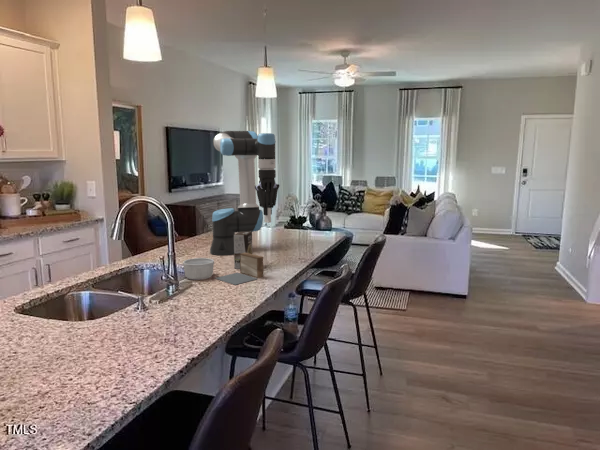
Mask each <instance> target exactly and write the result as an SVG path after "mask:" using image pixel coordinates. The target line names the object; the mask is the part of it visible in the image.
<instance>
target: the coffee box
mask: <svg viewBox="0 0 600 450" xmlns="http://www.w3.org/2000/svg"><path fill="white" fill-rule="evenodd" d="M241 253H249V254H253V232H236V233H235V234H234V254H233V258H234V259H233V260H234V261H233V263H234V269H237V270H240V254H241Z"/></svg>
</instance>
